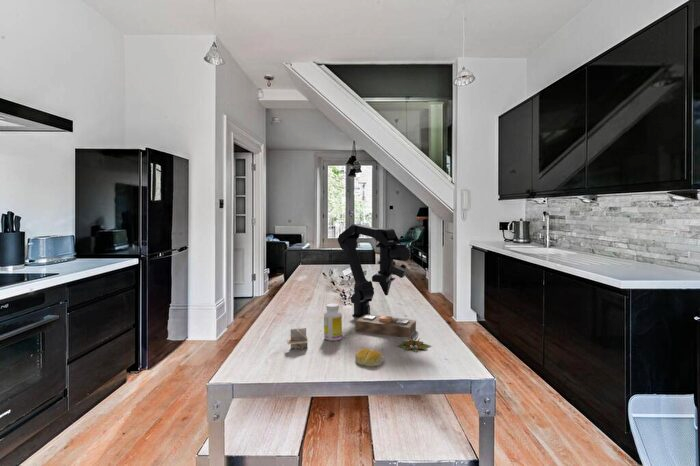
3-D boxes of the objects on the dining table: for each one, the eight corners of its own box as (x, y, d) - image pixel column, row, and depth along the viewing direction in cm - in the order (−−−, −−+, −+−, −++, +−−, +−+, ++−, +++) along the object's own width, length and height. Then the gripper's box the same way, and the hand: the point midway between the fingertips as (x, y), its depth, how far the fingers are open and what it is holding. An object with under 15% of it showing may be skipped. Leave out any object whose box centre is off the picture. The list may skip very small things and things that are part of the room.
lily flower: (437, 347, 138) (437, 335, 138) (418, 357, 130) (418, 343, 129) (409, 339, 147) (410, 327, 146) (390, 347, 138) (390, 335, 138)
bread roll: (362, 355, 131) (362, 343, 131) (386, 360, 126) (386, 348, 126) (349, 363, 124) (349, 351, 124) (374, 370, 119) (374, 357, 119)
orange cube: (379, 327, 154) (379, 318, 154) (382, 324, 158) (382, 315, 158) (388, 328, 153) (388, 319, 153) (392, 325, 156) (392, 316, 156)
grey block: (396, 331, 152) (396, 321, 151) (399, 328, 155) (399, 319, 155) (406, 332, 150) (406, 323, 150) (408, 329, 154) (409, 320, 153)
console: (355, 330, 156) (355, 320, 155) (365, 323, 165) (365, 314, 164) (408, 338, 146) (408, 327, 146) (415, 330, 155) (416, 320, 155)
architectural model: (308, 352, 134) (307, 331, 134) (287, 353, 133) (287, 332, 132) (307, 348, 138) (306, 328, 137) (287, 350, 136) (286, 329, 136)
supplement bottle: (344, 336, 149) (344, 303, 148) (338, 342, 142) (337, 307, 141) (328, 334, 151) (327, 302, 150) (321, 340, 144) (321, 306, 143)
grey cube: (363, 326, 157) (363, 317, 157) (366, 323, 161) (366, 314, 161) (372, 328, 156) (372, 318, 156) (375, 325, 159) (375, 316, 159)
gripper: (398, 262, 151) (397, 302, 152) (411, 256, 168) (411, 292, 169) (371, 261, 156) (371, 299, 157) (386, 255, 173) (386, 290, 174)
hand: (386, 295), depth 164 cm, fingers closed
